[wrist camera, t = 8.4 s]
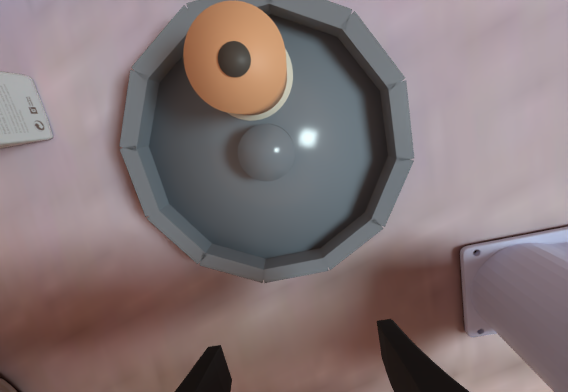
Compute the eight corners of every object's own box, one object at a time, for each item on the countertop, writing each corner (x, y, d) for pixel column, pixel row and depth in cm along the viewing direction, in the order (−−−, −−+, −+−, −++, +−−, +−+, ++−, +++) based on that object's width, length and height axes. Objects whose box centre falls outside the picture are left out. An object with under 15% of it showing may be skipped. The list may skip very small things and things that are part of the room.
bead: (279, 29, 16) (275, -12, 11) (292, 107, 17) (294, 103, 12) (206, 44, 16) (169, 12, 11) (223, 121, 17) (198, 122, 12)
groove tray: (376, -28, 16) (392, -54, 14) (407, 236, 20) (423, 252, 18) (105, 45, 17) (75, 33, 15) (189, 279, 22) (177, 299, 19)
